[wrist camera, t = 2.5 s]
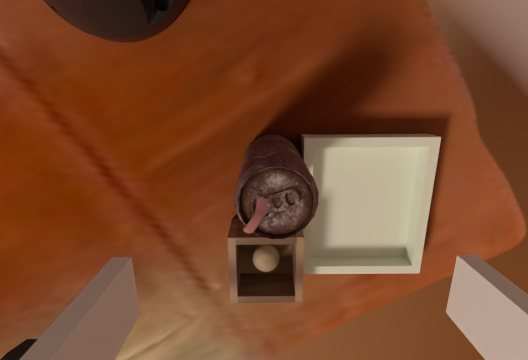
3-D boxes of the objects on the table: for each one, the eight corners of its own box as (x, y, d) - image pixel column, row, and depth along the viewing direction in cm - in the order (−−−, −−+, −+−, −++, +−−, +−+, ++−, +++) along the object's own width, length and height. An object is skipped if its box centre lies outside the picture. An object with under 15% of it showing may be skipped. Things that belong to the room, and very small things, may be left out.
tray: (301, 134, 33) (304, 137, 31) (427, 133, 33) (441, 137, 31) (297, 261, 38) (300, 274, 35) (409, 261, 38) (419, 273, 35)
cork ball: (252, 238, 36) (251, 252, 33) (279, 238, 36) (280, 252, 33) (252, 262, 37) (252, 277, 34) (278, 261, 37) (280, 277, 34)
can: (233, 168, 34) (213, 218, 21) (264, 122, 33) (265, 143, 19) (276, 197, 35) (284, 262, 22) (309, 153, 34) (339, 194, 20)
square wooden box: (232, 218, 36) (227, 237, 31) (299, 217, 36) (304, 237, 31) (234, 276, 38) (230, 302, 33) (297, 275, 38) (302, 302, 33)
